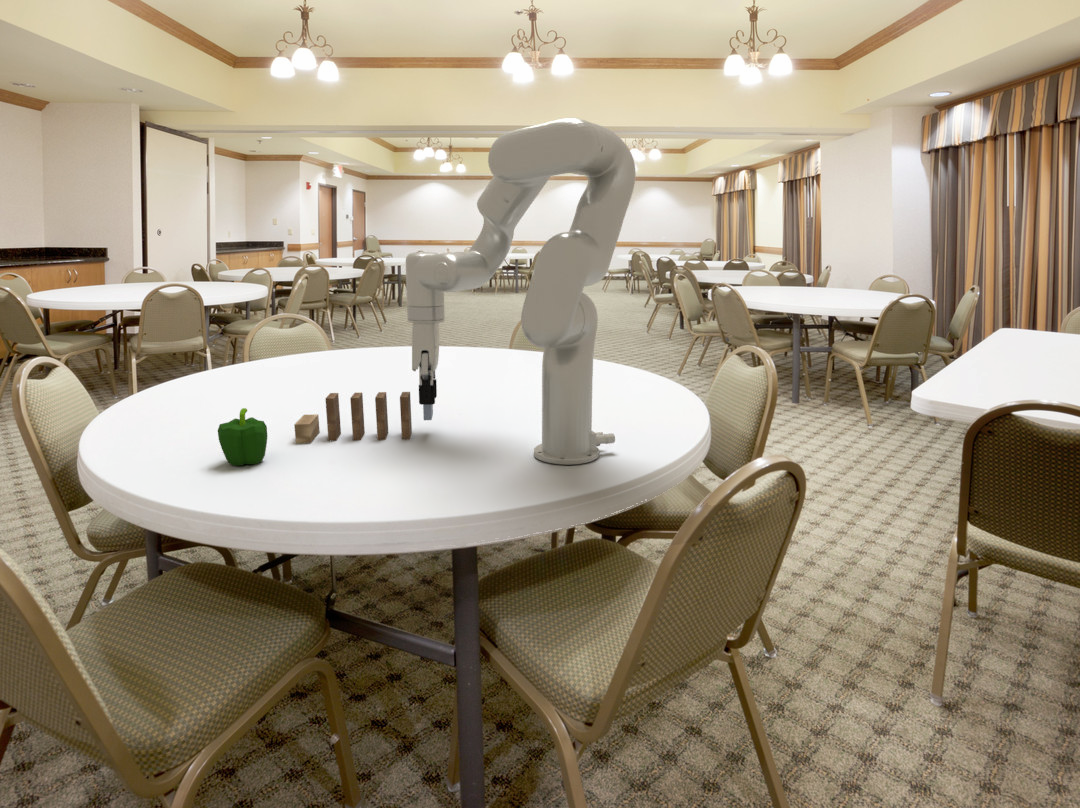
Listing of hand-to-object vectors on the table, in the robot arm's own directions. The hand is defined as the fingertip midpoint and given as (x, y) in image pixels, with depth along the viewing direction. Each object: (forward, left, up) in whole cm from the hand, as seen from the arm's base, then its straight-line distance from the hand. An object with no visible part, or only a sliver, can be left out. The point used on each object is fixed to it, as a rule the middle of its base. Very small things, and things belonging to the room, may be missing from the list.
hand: (428, 400), depth 149 cm
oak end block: (+24, -6, -8) cm, 26 cm away
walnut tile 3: (+14, -4, -8) cm, 17 cm away
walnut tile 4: (+19, -5, -8) cm, 21 cm away
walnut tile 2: (+9, -2, -8) cm, 12 cm away
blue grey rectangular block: (0, 0, -4) cm, 4 cm away
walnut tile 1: (+5, -1, -8) cm, 9 cm away
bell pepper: (+36, +7, -8) cm, 37 cm away
